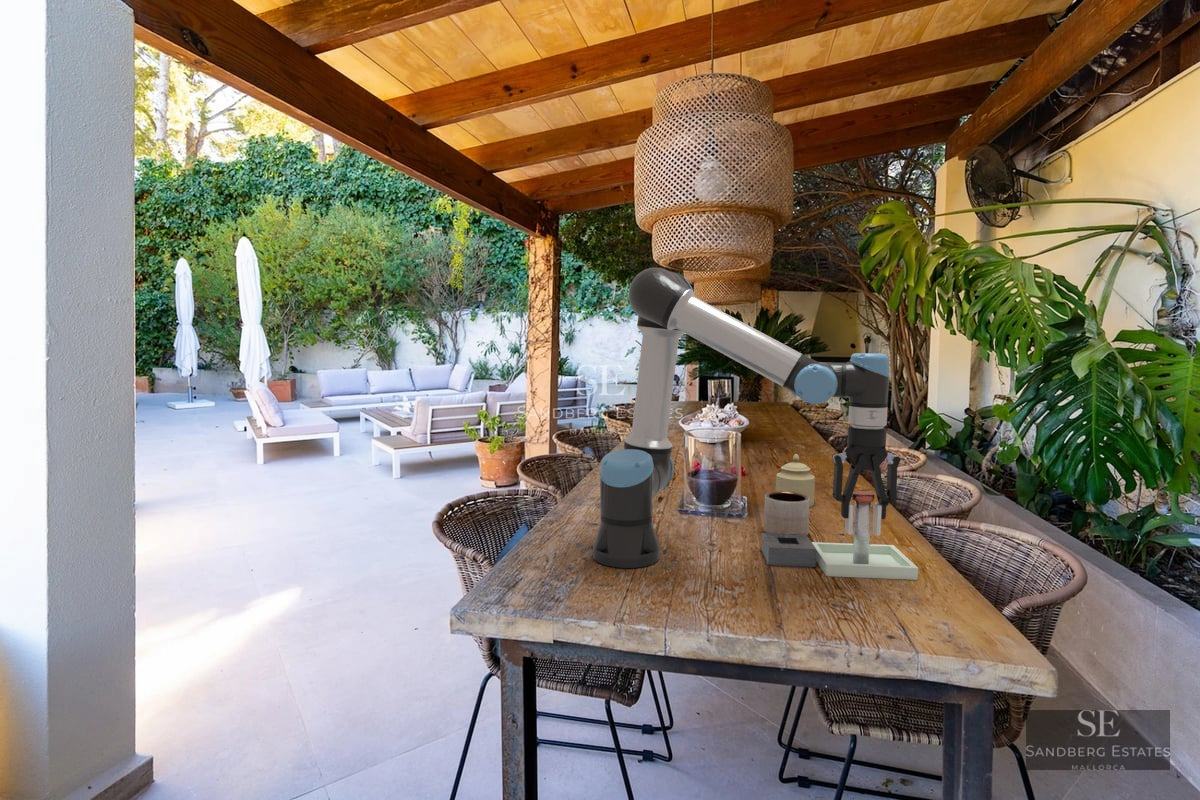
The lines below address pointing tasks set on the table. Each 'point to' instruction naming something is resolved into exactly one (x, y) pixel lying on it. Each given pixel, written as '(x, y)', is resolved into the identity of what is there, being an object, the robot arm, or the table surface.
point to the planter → (786, 513)
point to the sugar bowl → (796, 479)
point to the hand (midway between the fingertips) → (862, 532)
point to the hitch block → (788, 550)
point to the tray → (881, 564)
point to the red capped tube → (862, 526)
